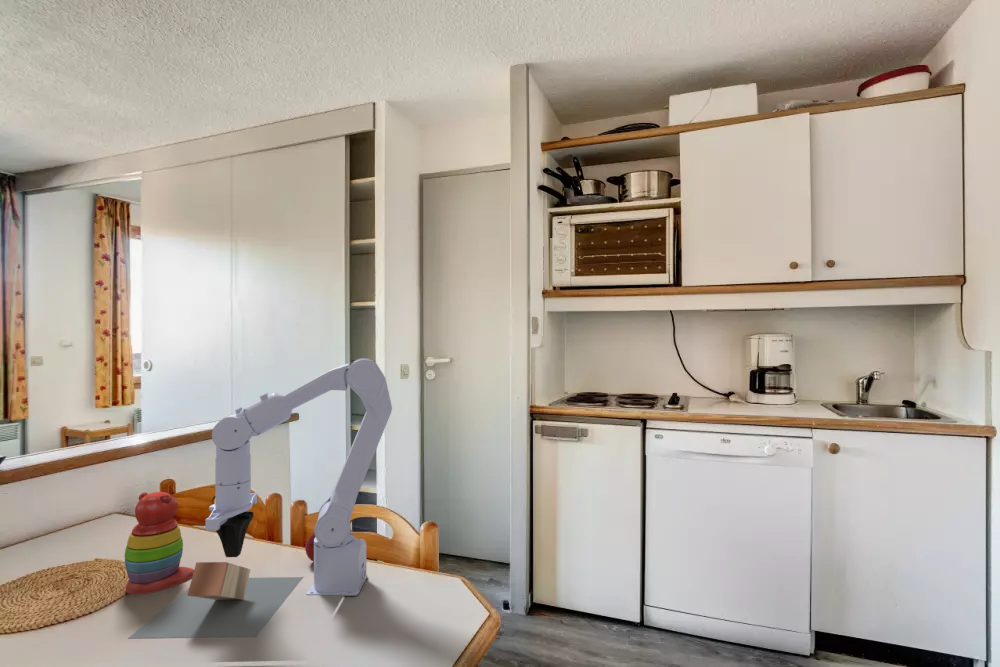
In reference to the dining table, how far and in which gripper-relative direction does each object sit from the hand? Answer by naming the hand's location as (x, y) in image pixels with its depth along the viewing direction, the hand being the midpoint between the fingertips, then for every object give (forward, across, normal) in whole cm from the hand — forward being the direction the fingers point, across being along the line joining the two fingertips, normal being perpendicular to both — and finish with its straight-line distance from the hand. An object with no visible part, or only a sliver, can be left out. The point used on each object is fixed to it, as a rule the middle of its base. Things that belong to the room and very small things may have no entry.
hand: (233, 555), depth 93 cm
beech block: (+5, 0, 0) cm, 5 cm away
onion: (+8, -14, +11) cm, 20 cm away
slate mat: (+8, +3, 0) cm, 8 cm away
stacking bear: (+8, -6, -18) cm, 21 cm away
